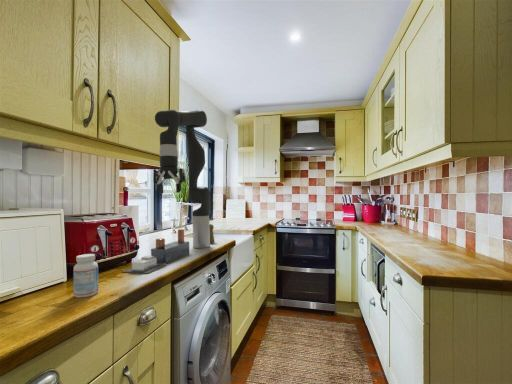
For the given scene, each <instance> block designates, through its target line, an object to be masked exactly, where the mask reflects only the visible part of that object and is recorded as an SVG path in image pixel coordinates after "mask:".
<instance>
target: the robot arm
mask: <svg viewBox="0 0 512 384" xmlns="http://www.w3.org/2000/svg"><path fill="white" fill-rule="evenodd" d="M154 121H155V123H156V125H158V126H159V127H160V128H167V129H166V130H164V131H162V132H160V133H159V166H160V169H154V170H153V183H154V184H157V193H159V194H164V183H165V181H166V180H174V182H175V183H176V184H175V187H176V189H175V190H176V192H175V193H177V194H178V193H181V192H182V184H183V183H185V182H186V173H185V172H186V171H185V169H184V168H181V167H180V168H178V167H179V166H178V165H179V163H178V162H179V159H178V145H177V144H178V143H177V142H178V141H177V140H178V139H177V137H178V132H179V127H184V126H185V132H186V133H185V134H186V140H187V162H188V200H189V202H190V203H191V204H192V205H193V204H198V205H199V204H200V206H199V208H197V209H194V210H192V217H191V218H192V220H191V221H192V248H195V249H205V248H209V247H210V246H211V243H210V227H209V224H210V209H211V208H210V204H211V192H210V191H211V190H210V189H209V187H207V186H198V180H199V176H200V174H201V172H202V171H203V169H204V167H205V164H206V153H205V149H204V147H203V146H202V144H201V143H200V142H199V140H198V138H197V136H196V132H195V128H197V129H198V128H203V127H205V126H206V125H207V122H208V118H207V114H206V112H205V111H204V110H202V109H195V110H187V111H182V110H181V111H180V110H176V109H167V110H165V109H164V110H159V111H157V112H156V113H155V116H154ZM178 174H179V176H178Z"/></svg>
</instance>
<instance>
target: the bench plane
mask: <svg viewBox="0 0 512 384" xmlns="http://www.w3.org/2000/svg"><path fill="white" fill-rule="evenodd" d="M165 240H166V239H165V238H156V239H155V247H153V248H151V249H150V256H154V258H157V265H167V264H169V263H171V262H173V261H176V260H178V259H181V258H183V257H185V256H187V255H190V241H187V240H186V241H185V229H184V228H183V229H182V228H181V229H180V228H179V229H177V240H176V241H173V242H170V243H167V244H166V241H165Z"/></svg>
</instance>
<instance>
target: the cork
mask: <svg viewBox="0 0 512 384" xmlns="http://www.w3.org/2000/svg"><path fill="white" fill-rule="evenodd" d="M209 227H210V244H214V243H215V236H214V225H213V224H210V223H209ZM213 242H214V243H213Z"/></svg>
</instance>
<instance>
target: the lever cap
mask: <svg viewBox="0 0 512 384" xmlns="http://www.w3.org/2000/svg"><path fill="white" fill-rule="evenodd" d="M157 265H158V264H157V258H154V256H151V255H144V256H142V257H140V259H137V260H135V261H132V262H131V268H132V271H146V270H148V269H150V268H153V267H155V266H157Z"/></svg>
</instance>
